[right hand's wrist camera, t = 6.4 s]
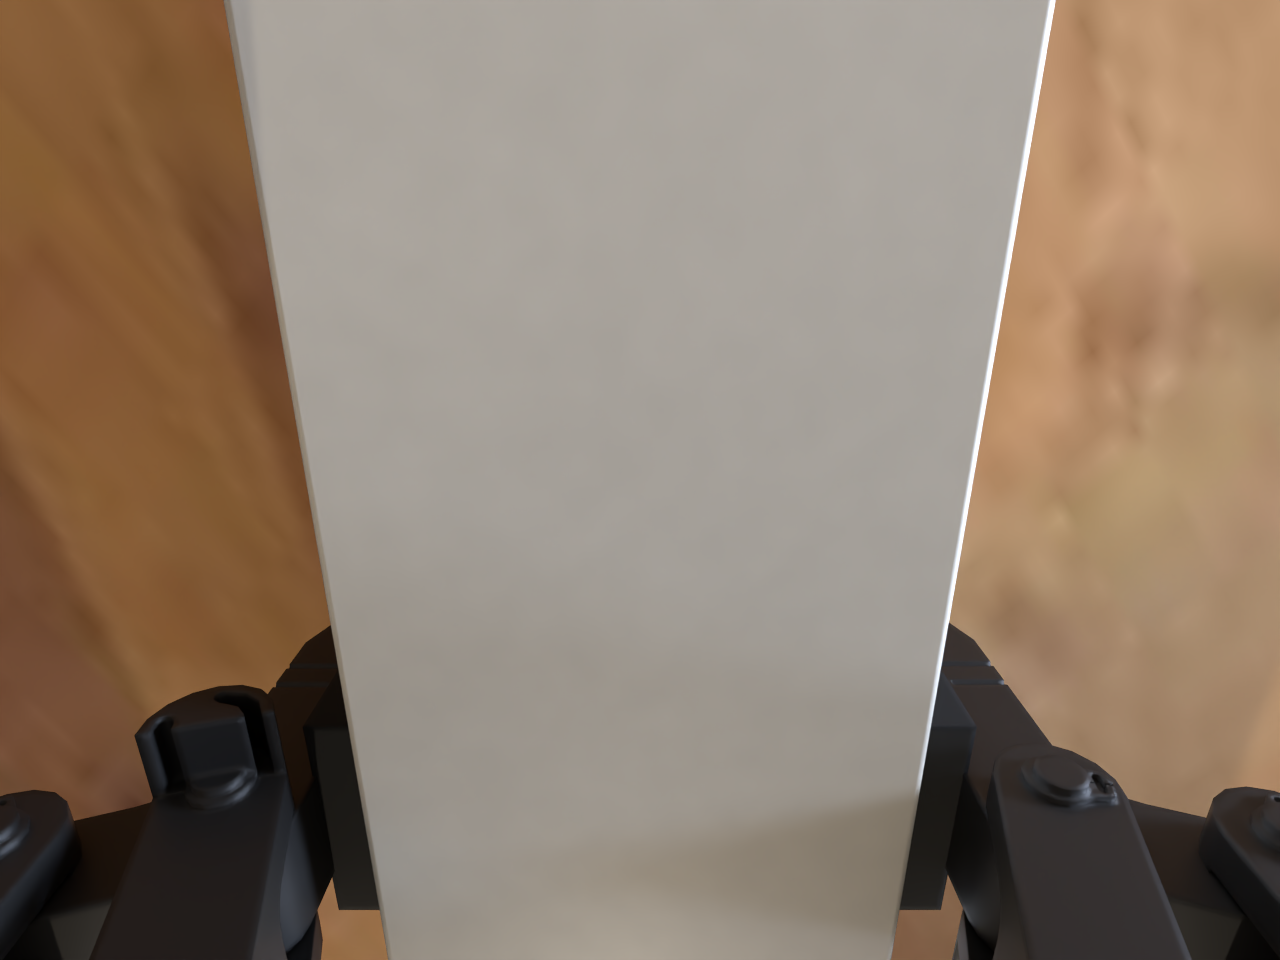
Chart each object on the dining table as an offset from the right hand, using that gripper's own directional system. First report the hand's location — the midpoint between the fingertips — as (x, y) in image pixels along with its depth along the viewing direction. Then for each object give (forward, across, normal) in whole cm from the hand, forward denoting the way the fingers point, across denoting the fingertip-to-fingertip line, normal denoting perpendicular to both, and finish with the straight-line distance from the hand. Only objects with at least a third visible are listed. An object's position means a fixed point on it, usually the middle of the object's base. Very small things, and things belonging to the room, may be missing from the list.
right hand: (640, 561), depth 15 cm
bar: (+1, 0, -36) cm, 36 cm away
